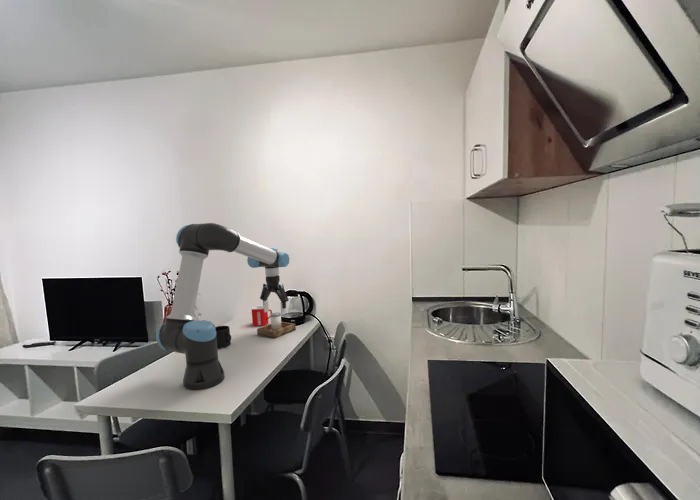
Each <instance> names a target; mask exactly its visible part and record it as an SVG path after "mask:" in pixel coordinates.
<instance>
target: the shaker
mask: <svg viewBox="0 0 700 500" xmlns="http://www.w3.org/2000/svg"><path fill="white" fill-rule="evenodd" d="M269 314H270V315H269V316H271V317H270V324H271V328H272V331H277V330H279V329H282V325H281V322H282V317H281V316H282V315H281V312H272V314H271V313H269Z"/></svg>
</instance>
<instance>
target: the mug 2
mask: <svg viewBox="0 0 700 500" xmlns="http://www.w3.org/2000/svg"><path fill="white" fill-rule="evenodd" d="M250 310H251V318H252V319H251V320H252V326H253V327H263V326H266V325H269V319H271V316H270V315H269V314H272V313H273V310H272V309H269V312H270V313H269V312H264V306H263V305H256V306H254V307H252V308H251V309H250Z"/></svg>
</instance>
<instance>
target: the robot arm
mask: <svg viewBox="0 0 700 500" xmlns="http://www.w3.org/2000/svg"><path fill="white" fill-rule="evenodd" d="M175 240H176V244H177V246H178V248H179V250H178V251H179V252H178V253H179V254H180V256H181V260H180V261H181V262H180V265H179V271H178V276H177V282H176V286H175V290H174V297H173V301H172V305H171V312H170V314H168V315H167V316H166V317H165V322H163V323H162V324H161V325H160V326H159V327H158V329H157V331H156V336H155V339H156V342H157V344H158V346H159V347H160V348H161V349H162V350H164V351H168V352H170V353H179V354H183V355H185V364H186V367H185V370H184V374H183V378H182V385H183V388H185V390H190V391H191V390H192V391H198V390H199V391H200V390H205V389H208V388H209V389H210V388H211V387H214V386H217V385H219V384H220V383H222V382H223V381H224V380H225V370H224V369H223V367H222V363H221V362H220V360H219V351H218V350H219V349H218V348H217V336H216V329H215V327H216V326H215V323H213V322H212V321H209V320H207V319H206V320H201V319H199V320H198V319H196V317H195V316H194V314H195V309H196V303H197V297H198V293H199V288H200V281H201V277H202V270H203V265H204V261H205V260H206V259H207V258H208V257H209V254H210V251H224V252H227V253H233V252H234V253H236V254H239V255H242V256H245V257H247V259H246V261H247V264H248V266H249V267H250V268H252V269H255V268H264V271H265V282H266V283H262V288H261V289H262V290H261V293H260V297H259V299H260V300H262V304H263V305H262V306H264V312H268V313H269V312H270V311H269V310H270V309H269V299H268V298H269V297H270V295H271V293H275V294H276V296H277V297H278V299H279V301H280V313H281V316H283V315H286V314H287V312H286V310H287V309H286V308H287V302H289V297H288V295H287V292H286V290H285V288H284V284H283V283H282V284H279V283H280V279H281V278H280V268H286V267H287V266H288V265H289V263H290V255H289V254H288V253H287V252H283V251H281V252H279V250H278V248H277V247H267V246H265V245H262V244H259V243H258V242H255V241H253V240H251V239H248V238H247V237H243V236H241V235H240V233H239V232H238V231H236V230H234V229H231V228H228V227H226V226H224V225H221V224H217V223H215V222H206V223H190V224H186V225H183V227H181V228H180V229H179V230H178V232H177V233H176V237H175Z"/></svg>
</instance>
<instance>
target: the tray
mask: <svg viewBox="0 0 700 500" xmlns="http://www.w3.org/2000/svg"><path fill="white" fill-rule="evenodd" d="M281 325H282V329H279V330H277V331H272V328H271V323H268V324H266V325H265V326H260V327H258V328H256V334H257V336H260V335H261V337H265V336H266V337H265V338H272V339H277V338H279V337H282V336H285V335H287V334H289V333H292V332H294V331H296V329H297V326H296V323H292V322H284V321H281Z"/></svg>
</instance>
